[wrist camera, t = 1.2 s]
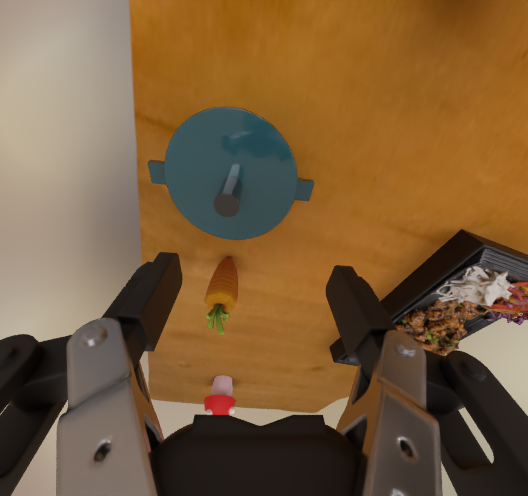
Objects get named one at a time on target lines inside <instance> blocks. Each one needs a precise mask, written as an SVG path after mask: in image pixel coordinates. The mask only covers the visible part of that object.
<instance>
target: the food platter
mask: <svg viewBox="0 0 528 496" xmlns="http://www.w3.org/2000/svg"><path fill="white" fill-rule="evenodd" d="M381 304H382V306H383V307H384V309H385V310H386V312H387V314H388V315H389V317H390V318H391V320H392V322H393V323H394V325H395V326H396V328H397V329H398V331H401V332H404V333H406V334H408V335H409V336H411V337H412V338H413V339H415V340H416V341H417V342H418V343H419V344H420V346H421V347H422V348H423V349H425V350H428V351H431V352H434V353H437V354H440V355H443V356H444V355H445V353H446V354H448V353H450V352H451V351H454V350H455V349H459V348H458V344H459V341H460V340H462V339H464V338H465V337H467V336H469V335H471V334H473V333H475V332H477V331H479V330H480V329H482V328H484V327H486V326H488V325H490V324H491V323H493V322H495V321H497V320H498V319H501V318H506V319H507V321H508V323H509V322H511V321H513V322H515V323H517V324H519V325H520V324H522V323H523V321H524V320H528V255H526V254H524V253H521V252H519V251H516V250H514V249H511V248H509V247H506V246H503V245H501V244H498V243H496V242H493V241H491V240H488V239H485V238H483V237H480V236H478V235H475V234H473V233H470V232H467V231H465V230H462V229H461V230H460V231H459V232H458V233H457V234H456V235H455V236H454V237H452V238H451V239H450V240H449V241H448V242H447V243H446V244H445V245H443V246H442V247H441V248H440V249H439V250H438V251H437V252H436V253H434V254H433V255H432V256H431V257H430V258H429V259H428V260H427V261H425V262H424V263H423V264H422V265H421V266H420V267H419V268H418V269H417V270H415V271H414V272H413V273H412V274H411V275H410V276H409V277H408V278H406V279H405V280H404V281H403V282H402V283H401V284H400V285H399V286H397V287H396V288H395V289H394V290H393V291H392V292H391V293H390V294H388V295H387V296H386V297H385V298H384V299H383V300H382V301H381ZM519 313H523V315H522V314H521V315H522V316H519ZM514 317H517V318H514ZM512 318H514V319H512ZM330 351H331V354H332V358H333V361H334V362H335V363H341V364H348V365H354V366H359V365H360V362H359V359H358V358H348V355H347V353H346V350H345V347H344V344H343V342H342V339H341V337H340V338H339V339H338V340H337V341H336V342H335V343H334V344H332V345H331V346H330Z"/></svg>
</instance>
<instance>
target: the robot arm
mask: <svg viewBox="0 0 528 496" xmlns="http://www.w3.org/2000/svg"><path fill="white" fill-rule="evenodd" d="M181 285H182V272H181V266H180V260H179V256H178V254H177V253H166V252H160V253H159V254H158V255H157V257H156V258H155V260H154V261H153V262H147V263H145V264H144V265H142V266H141V267H140V268H139V269H137V270H136V272H135V273H134V274H133V276H132V277H131V279H130V280H129V281H128V283H127V284H126V287H124V288H123V289H122V291H121V292H120V293H119V295H118V296H117V297H116V299H115V300H114V301H113V303H112V304H111V305H110V307H109V308H108V310H107V311H106V312H105V314H104V315H103V316H102V317H101V318H100V319H96V320H93V321H91V322H89V323H87V324H85V325H83V326H82V327H80V328H79V329H78V330H77V331H76V332H75V333H74V334H73V335H69V336H65V337H60V338H56V339H51V340H47V341H43V342H38V341H37V340H36V339H35V338H34V337H33V336H30V335H26V334H21V335H14V336H10V337H7V338H5V339H2V340H0V413H1V412H2V411H3V410H4V408H5V407H6V406H7V405H8V404H9V405H8V406H7V407H6V409H5V410H4V411H3V413H2V414H1V415H0V496H11V494H12V493H13V491H14V489H15V487H16V486H17V484H18V482H19V481H20V479H21V477H22V476H23V474H24V472H25V471H26V469H27V467H28V465H29V464H30V462H31V461H32V459H33V457H34V455H35V454H36V452H37V450H38V449H39V447H40V445H41V444H42V442H43V440H44V439H45V437H46V435H47V434H48V432H49V430H50V428H51V427H52V425H53V423H54V422H55V420H56V418H57V417H58V415H59V413H60V412H61V410H62V408H63V407H64V405H65V403H66V402H67V400H68V409H67V412H66V413H64V414H62V415H61V417H60V418H59V421H58V425H57V469H56V470H57V471H56V472H57V473H56V476H57V477H56V482H57V483H56V496H442V476H441V475H442V474H441V462H442V464H443V466H444V468H445V470H446V472H447V474H448V476H449V478H450V480H451V482H452V484H453V487H454V488H455V491H456V493H457V495H458V496H528V416H527V415H526V414H525V412H524V411H523V410H522V409H521V408H520V407H519V405H518V404H517V403H516V402H515V400H514V399H513V398H512V397H511V396H510V394H509V393H508V392H507V391H506V390H505V388H504V387H503V386H502V385H501V384H500V383H499V381H498V380H497V379H496V378H495V376H494V375H493V374H492V373H491V371H490V370H489V369H488V368H487V367H486V366H484V364H482V363H481V362H480V361H479V360H477V359H476V358H474V357H473V356H471V355H469V354H467V353H465V352H462V351H457V350H454V351H451V352H450V353H448V354H447V355H446V356H443V355H440V354H437V353H434V352H431V351H428V350H425V349H423V348H422V347H421V346H420V344H419V343H418V342H417V341H416V340H415V339H413V338H412V337H411V336H409V335H408V334H406V333H404V332H401V331H398V329H397V328H396V326H395V325H394V323H393V322H392V320H391V318H390V317H389V315H388V314H387V312H386V310H385V309H384V307H383V306H382V304H381V302H379V299H378V298H377V296H376V295H375V294H374V291H373V290H372V288H371V286H370V285H369V284H368V283H367V282H366V281H365V280H364V279H363V278H362V277H358V276H357V274H356V272H355V270H354V269H353V267H351V266H340V265H336V266H335V267H334V269H333V271H332V274H331V276H330V278H329V281H328V283H327V286H326V297H327V300H328V303H329V305H330V308H331V311H332V314H333V317H334V319H335V322H336V325H337V328H338V330H339V333H340V336H341V339H342V342H343V344H344V347H345V350H346V353H347V355H348V358H358V359H359V362H360V365H359V366H358V369H357V372H356V376H355V379H354V382H353V386H352V389H351V393H350V396H349V400H348V403H347V406H346V408H345V411H344V412H343V414H342V416H341V418H340V420H339V423H338V425H337V428H336V430H335V429H334V428H332V427H330V426H328V425H325V422H324V418H323V415H292V416H289V417H286V418H283V419H280V420H277V421H275V422H272V423H269V424H266V425H263V426H258V425H255V424H252V423H249V422H247V421H244V420H241V419H238V418H235V417H232V416H230V415H195V416H194V421H193V423H192V424H190V425H187V426H185V427H183V428H181V429H179V430H177V431H176V432H174V433H172V434H171V435H170V436H168V437H167V438H166V439H165V440H164V437H163V434H162V430H161V427H160V424H159V421H158V418H157V416H156V413H155V411H154V408H153V405H152V402H151V399H150V395H149V392H148V388H147V385H146V381H145V378H144V374H143V371H142V367H141V364H140V361H139V360H140V358H141V356H142V354H143V352H144V351H154V350H155V347H156V345H157V343H158V340H159V338H160V335H161V333H162V331H163V328H164V326H165V324H166V321H167V319H168V317H169V314H170V312H171V310H172V307H173V305H174V303H175V300H176V298H177V295H178V293H179V291H180V288H181ZM464 407H465V408H466V410H467V411H468V413H469V414H470V416H471V417H472V419H473V420H474V422H475V423H476V425H477V427H478V428H479V430H480V431H481V433H482V434H483V436H484V437H485V439H486V441H487V442H488V444H489V445H490V447H491V449H492V451H493V455H494V462H493V463H491V462H490V461H489V459H488V458H487V456H486V455H485V453H484V451H483V450H482V448H481V447H480V445H479V443H478V442H477V440H476V438H475V437H474V435H473V434H472V432H471V430H470V429H469V427H468V425H467V424H466V422H465V421H464V419H463V417H462V416H461V414H460V412H459V411H458V410H459V409H462V408H464Z"/></svg>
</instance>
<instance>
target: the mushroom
mask: <svg viewBox="0 0 528 496" xmlns="http://www.w3.org/2000/svg"><path fill="white" fill-rule="evenodd" d="M232 391H233V387H232V378H231V377H230V376H226V375H220V376H216V377H215V378H214V381H213V385H212V388H211V396H208V397H206V398H205V400H204V404H205V412H206V415H229V414H231V415H232V414H234V412H235V408H234V404H235V401H236V400H235V399H234V398H233V397H231V395H232Z"/></svg>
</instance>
